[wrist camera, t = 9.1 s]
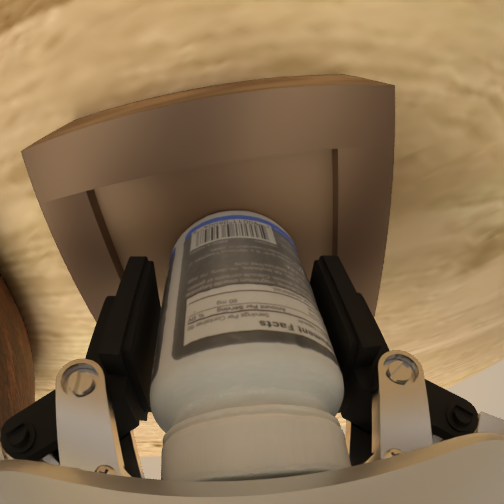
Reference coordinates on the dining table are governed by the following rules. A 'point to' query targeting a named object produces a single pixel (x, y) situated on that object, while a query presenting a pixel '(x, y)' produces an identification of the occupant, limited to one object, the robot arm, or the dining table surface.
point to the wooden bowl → (14, 359)
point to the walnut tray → (222, 175)
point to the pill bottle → (243, 358)
